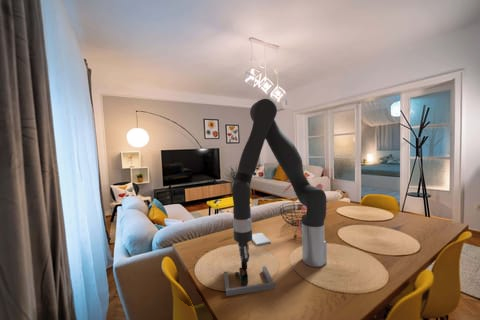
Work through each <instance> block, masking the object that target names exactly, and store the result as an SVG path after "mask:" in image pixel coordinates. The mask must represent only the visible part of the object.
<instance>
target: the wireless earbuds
mask: <svg viewBox="0 0 480 320" xmlns="http://www.w3.org/2000/svg"><path fill="white" fill-rule="evenodd" d="M247 270H248V269H247ZM247 270H246V267H239V270H238V271H236V272H234V276H235V277H238V276H239V280H240V285H241V286H248V284H249V275H248V271H247Z"/></svg>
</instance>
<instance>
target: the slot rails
mask: <svg viewBox="0 0 480 320" xmlns="http://www.w3.org/2000/svg"><path fill="white" fill-rule="evenodd" d="M262 273H263V275H265V276H264V278H265V280H266V282H265V283H259V284H251V285H243V286H238V287H232V288H230V282H229V280H230V279H229V275H228V271H223V278H224V286H225V287H224V288H225V295H226V297H231V296H237V295H238V296H239V295H242V294H243V295H245V294H250V293H256V292H263V291H267V290H269V291H270V290H275V282H274V281H273V278H272V276H271V274H270V272H269V269H268V268H267V266H266V265H263V266H262Z"/></svg>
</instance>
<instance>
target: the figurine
mask: <svg viewBox="0 0 480 320" xmlns="http://www.w3.org/2000/svg"><path fill="white" fill-rule="evenodd" d="M304 175H305V177H306V179H307V181H308V182H309V180H308V175H307V174H304ZM315 187H317V188H320V189H322V190H323V184H321V183H318V184H317V185H316V186H315ZM290 188H292V184H291V183H290V184H289V185H288V186H287V187H286V188H285V189H284V191H282V194H284V193H286V192H287V191H288V190H290ZM293 192H294V193H295V191H294V190H293ZM300 209H301V210H300V212H299V215H298V224H299V225H298V226H296V228H298V229H297V230H296V232H294V234H295V235H296V234H297V233H298V232H299V231H300V232H301V234H302V225H301V222H300V221H301V220H300V219H301V213H302V212H303V211H304V212H305V211H307V206H305V205H303V204H302V206H301V207H300ZM293 228H294V227H293V226H291V229H293Z"/></svg>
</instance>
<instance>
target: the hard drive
mask: <svg viewBox="0 0 480 320" xmlns="http://www.w3.org/2000/svg"><path fill="white" fill-rule="evenodd" d="M251 241H252V242H253V244H254V245H255V246H256V247H260V246H265V245H270V244H271V243H272V241H271V240H269V238H268V237H267V236H266V235H265V234H264V233H262V232H258V233H252V240H251Z"/></svg>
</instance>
